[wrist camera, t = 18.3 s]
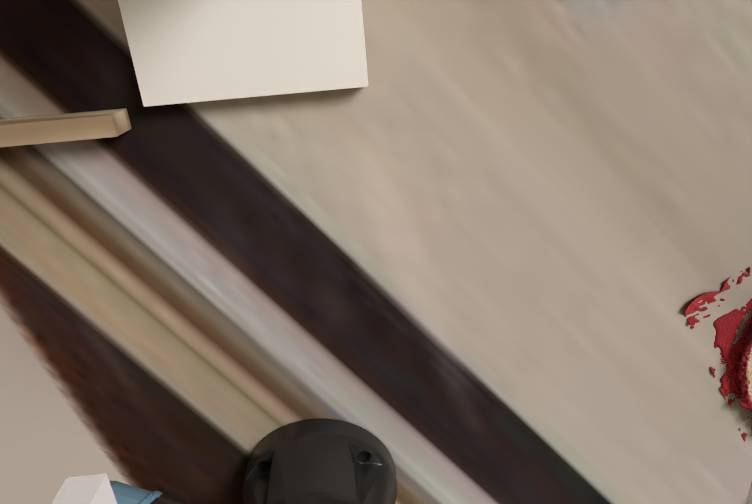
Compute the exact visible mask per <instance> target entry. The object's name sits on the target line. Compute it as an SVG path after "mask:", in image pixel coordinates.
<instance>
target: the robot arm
mask: <svg viewBox="0 0 752 504" xmlns="http://www.w3.org/2000/svg"><path fill="white" fill-rule="evenodd" d="M396 495H397V481H396V472H395V466H394V462H393V459H392V457H391V454H390V453H389V451H388V449H387V448H386V447H385V445H384V444H383V443H382V442H381V441H380V440H379V439H378V438H377V437H376V436H374V435H373V434H372V433H370V432H369V431H367V430H365V429H363V428H361V427H359V426H357V425H354V424H351V423H348V422H344V421H340V420H333V419H310V420H303V421H298V422H295V423H291V424H289V425H286V426H284V427H281V428H279V429H277V430H276V431H274V432H272V433H271V434H269V435H268V436H267V437H265V438H264V439H263V440H262V441H261V442H260V443H259V444H258V445H257V447H256V448H255V449H254V451H253V452H252V454H251V456H250V458H249V461H248V464H247V468H246V473H245V477H244V482H243V501H244V504H395V501H396ZM52 504H184V503H181V502H179V501H176V500H174V499H171V498H168V497H166V496H163V495H162V493H161V492H160V491H154V492H151V491H148V490H144V489H141V488H137V487H134V486H130V485H127V484H124V483H121V482H118V481H109V479H108V477H107V474H106V473H105V474H95V475H85V476H75V477H67V478H66V480H65V481H64V483H63V485H62V487H61V488H60V490H59V491H58V493H57V495H56V496H55V498H54V500H53V501H52ZM746 504H752V482H751V486H750V490H749V494H748V498H747V502H746Z"/></svg>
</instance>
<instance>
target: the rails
mask: <svg viewBox="0 0 752 504" xmlns="http://www.w3.org/2000/svg"><path fill="white" fill-rule="evenodd" d="M130 129H132V128H131V124H130V120H129V116H128V112H127V108H124V109H113V110H102V111H91V112H80V113H68V114H57V115H46V116H35V117H24V118H13V119H1V120H0V147H9V146H20V145H31V144H42V143H53V142H64V141H75V140H86V139H97V138H109V137H117V136H119V135H121V134H123V133H124V132H126V131H128V130H130Z"/></svg>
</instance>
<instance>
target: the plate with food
mask: <svg viewBox="0 0 752 504" xmlns="http://www.w3.org/2000/svg"><path fill="white" fill-rule="evenodd" d="M747 271H748V274H746V273H742V275H741V276H739V277H738V280H737V285H738V284H740V283H741V282H742V277H743V276H745V277H747V276H750V274H749V273H750V269H747ZM741 272H742V271H741ZM732 281H733V282H734V280H732ZM727 282H728V280H727V281H726V282H725V284H724V286H723V288H722V290H721V291H720V292H719V291H718V292H709V293H705V294H703V295H701V296H699V297H698V298H696V299H695V300H694V301H693V302H692V303H691V304H690V305H689V307H688V308H687V310H686V312H685V316H687V314H691V313H694V312H695V311H705V310H707V307H703V308H699V306H701V305H704V304H705V302H708V303H707V304H709V303H712V302H715V301H716V299H715V298H714V296H715V295H717V294H719V293H721V292H723V291H725V290H727V289H729V288H730V285H728V283H727ZM700 300H703V301H702V302H701V303H697V302H699V301H700ZM720 301H725V300H724V299H722V298H721V299H720ZM746 305H747V307H745V306H744V307H742V308H741V310H738V309H735V310H733V311H731V312H730V313H728V314H725V315H723V316H721V317H720V318H718V319H716V320H715V321H714V323H713V326H714V328H715V329H716V336H715V342H714V348H717V347H719V348H720V350H721V352H722V353H720V355H722V356H721V357H722V358H723V359H722V358H721V360H722V361H721V362H722V363H723V364H725V363H727V364H726V367H727V370H726V372H724V374H723V376H722V379H721V380H720V381H721V383H722V387H721V388H720V389H721V391H722V393H723V395H724V398H725V396H728V394H730V393H733V394H735V396H736V398H737V399H739V398H740V397H741V395H742V401H741V402H740V405H741V407H744V408H748V409H750V410H752V317H751V318H750V319H749V321H748V323H747V324H746V325H747V326H746V328H745V329H744V330H743V331H742V333H743V334H742V336H741V337H740V339H739V340H738V341H737V343H736V344H735V345H734V344H733V342H734V341H735V337H736V336H737V334H736V333H737V332H736V330H739V329H740V326H741V324H742V322H743V321H744V318H745V317H742V316H744V315H745V316H746V313H747V314H748V313H749V312H748V311H751V310H752V299H751V300H750V301H749V302H748V303H747V304H746ZM718 306H720V305H718ZM743 309H746V312H745V311H743ZM739 313H740V314H739ZM696 315H699V314H696ZM696 315H694V316H690V317H689V318H687V320H688V321H689V323H690V325H691V326H690V327H691V329H693V328H694V326H692V325H695V323H697V322H700V321H699V320H697V319H696V318H695V316H696ZM709 316H710V314H709V315H707V316H704V318H706V317H709ZM735 325H736V326H735ZM736 327H737V328H736ZM733 339H734V340H733ZM732 346H734V347H733V348H732ZM723 360H724V361H726V362H724V361H723ZM722 363H721V364H722ZM710 368H711V370H712V372H713V375H714V372H715V369H713V368H712V367H710ZM725 374H726V375H725ZM726 376H728V377H726ZM714 377H715V375H714ZM730 383H731V384H730ZM740 383H741V384H740ZM732 384H733V385H732ZM739 384H740V385H739ZM740 389H741V390H740ZM737 391H738V392H737ZM741 392H742V393H741ZM734 399H735V398H734ZM732 402H734V400H733V401H732V399H730V400H729V399H728V404H729V405H731V403H732ZM730 407H731V406H730ZM730 411H731V410H730ZM748 418H750V417H748ZM751 419H752V418H751ZM750 422H751V421H750ZM739 430H741V429H740V428H739ZM751 430H752V428H751ZM742 436H743V438H744V440H745V437H746V436H747V434H746V433H743V434H742Z"/></svg>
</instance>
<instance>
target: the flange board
mask: <svg viewBox="0 0 752 504" xmlns="http://www.w3.org/2000/svg"><path fill="white" fill-rule="evenodd" d="M118 3H119V7H120V11H121V16H122V20H123V24H124V28H125V32H126V36H127V40H128V44H129V48H130V53H131V57H132V61H133V65H134V69H135V73H136V77H137V81H138V86H139V90H140V94H141V98H142V102H143V106H144V107H146V106H157V105H168V104H180V103H191V102H202V101H213V100H224V99H235V98H247V97H258V96H269V95H280V94H291V93H302V92H314V91H325V90H336V89H347V88H358V87H368V76H367V64H366V52H365V40H364V28H363V16H362V4H361V0H118Z"/></svg>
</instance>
